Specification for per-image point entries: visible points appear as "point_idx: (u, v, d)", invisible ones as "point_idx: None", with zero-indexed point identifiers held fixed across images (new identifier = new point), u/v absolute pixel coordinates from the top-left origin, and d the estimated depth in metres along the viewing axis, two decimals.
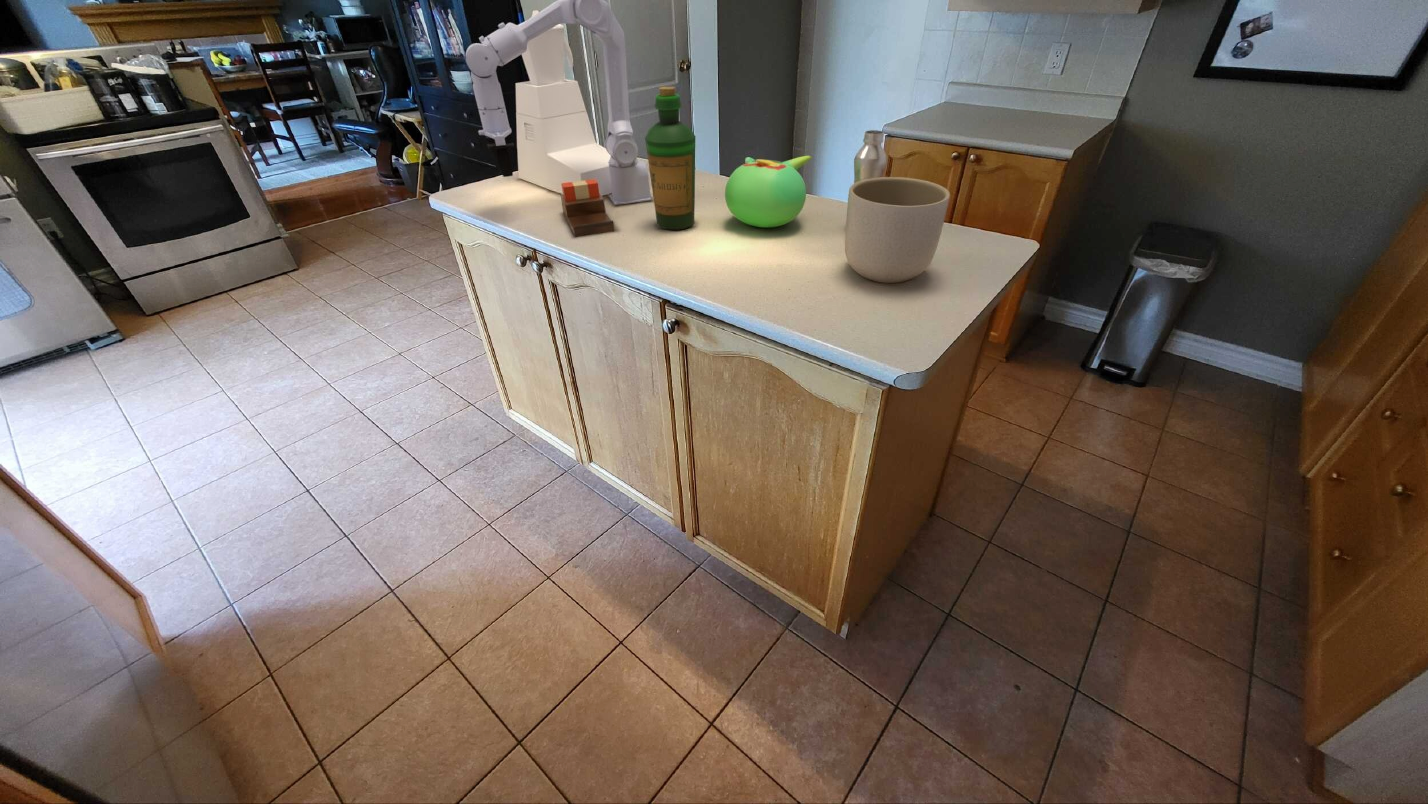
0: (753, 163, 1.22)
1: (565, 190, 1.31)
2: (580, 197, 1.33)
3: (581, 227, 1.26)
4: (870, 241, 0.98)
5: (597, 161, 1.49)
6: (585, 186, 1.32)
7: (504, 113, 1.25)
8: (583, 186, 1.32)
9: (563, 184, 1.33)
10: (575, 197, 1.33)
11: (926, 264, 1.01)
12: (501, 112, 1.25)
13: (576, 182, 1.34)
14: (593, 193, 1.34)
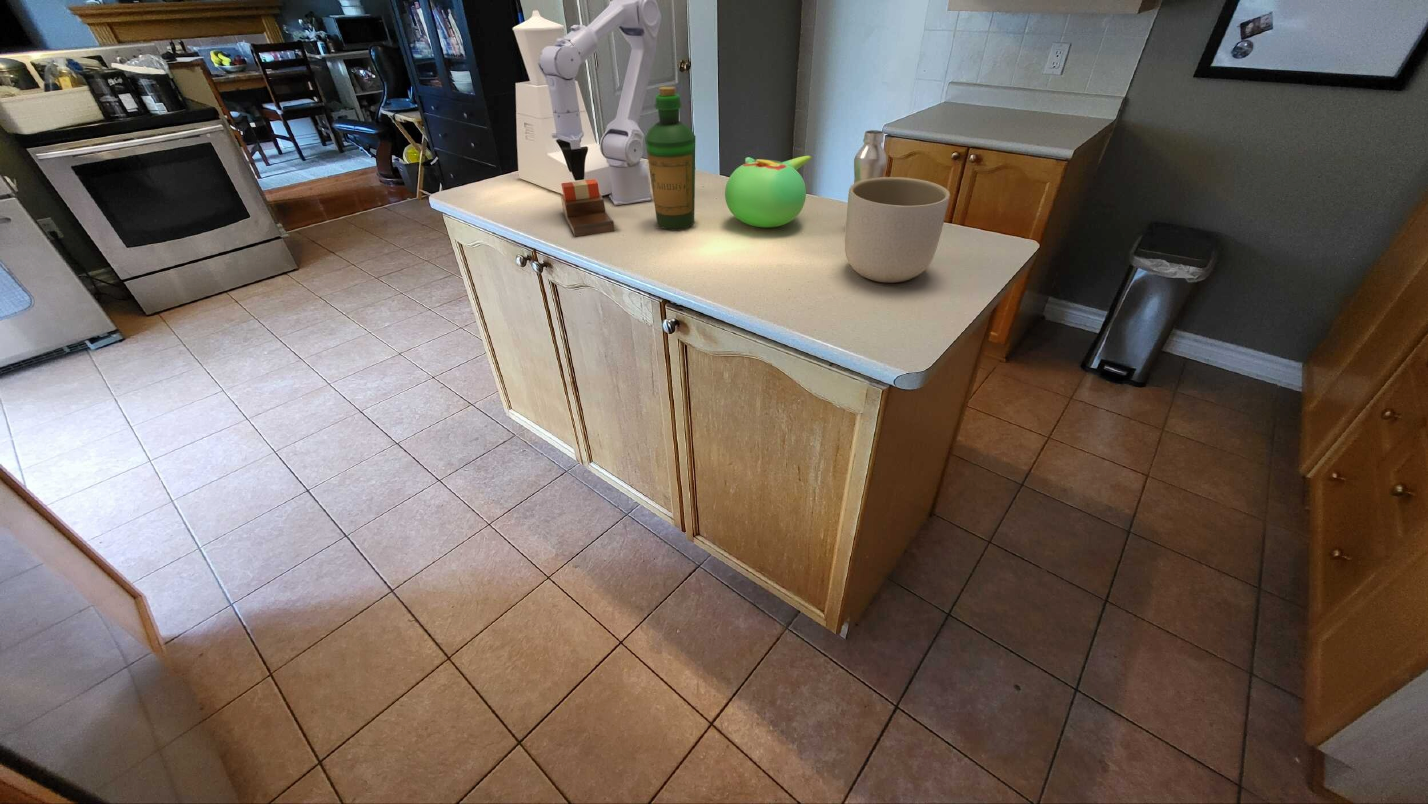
0: (753, 163, 1.22)
1: (565, 190, 1.31)
2: (580, 197, 1.33)
3: (581, 227, 1.26)
4: (870, 241, 0.98)
5: (597, 160, 1.49)
6: (585, 186, 1.32)
7: (578, 116, 1.24)
8: (583, 186, 1.32)
9: (563, 184, 1.33)
10: (575, 197, 1.33)
11: (926, 264, 1.01)
12: (576, 115, 1.23)
13: (576, 182, 1.34)
14: (593, 193, 1.34)
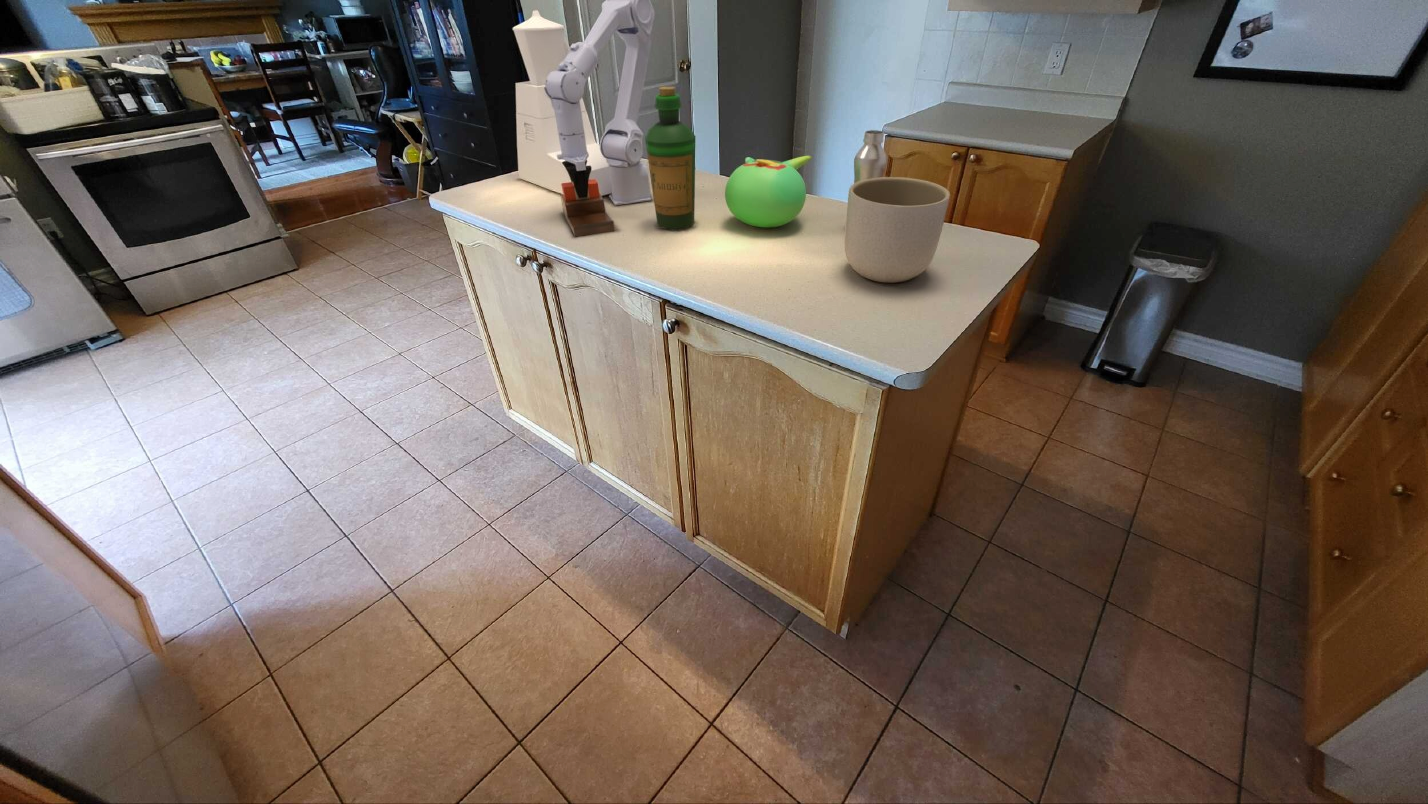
0: (753, 163, 1.22)
1: (565, 190, 1.31)
2: None
3: (581, 227, 1.26)
4: (870, 241, 0.98)
5: (597, 160, 1.49)
6: None
7: (583, 138, 1.27)
8: None
9: (563, 184, 1.33)
10: (575, 197, 1.33)
11: (926, 264, 1.01)
12: (581, 137, 1.26)
13: None
14: (593, 193, 1.34)
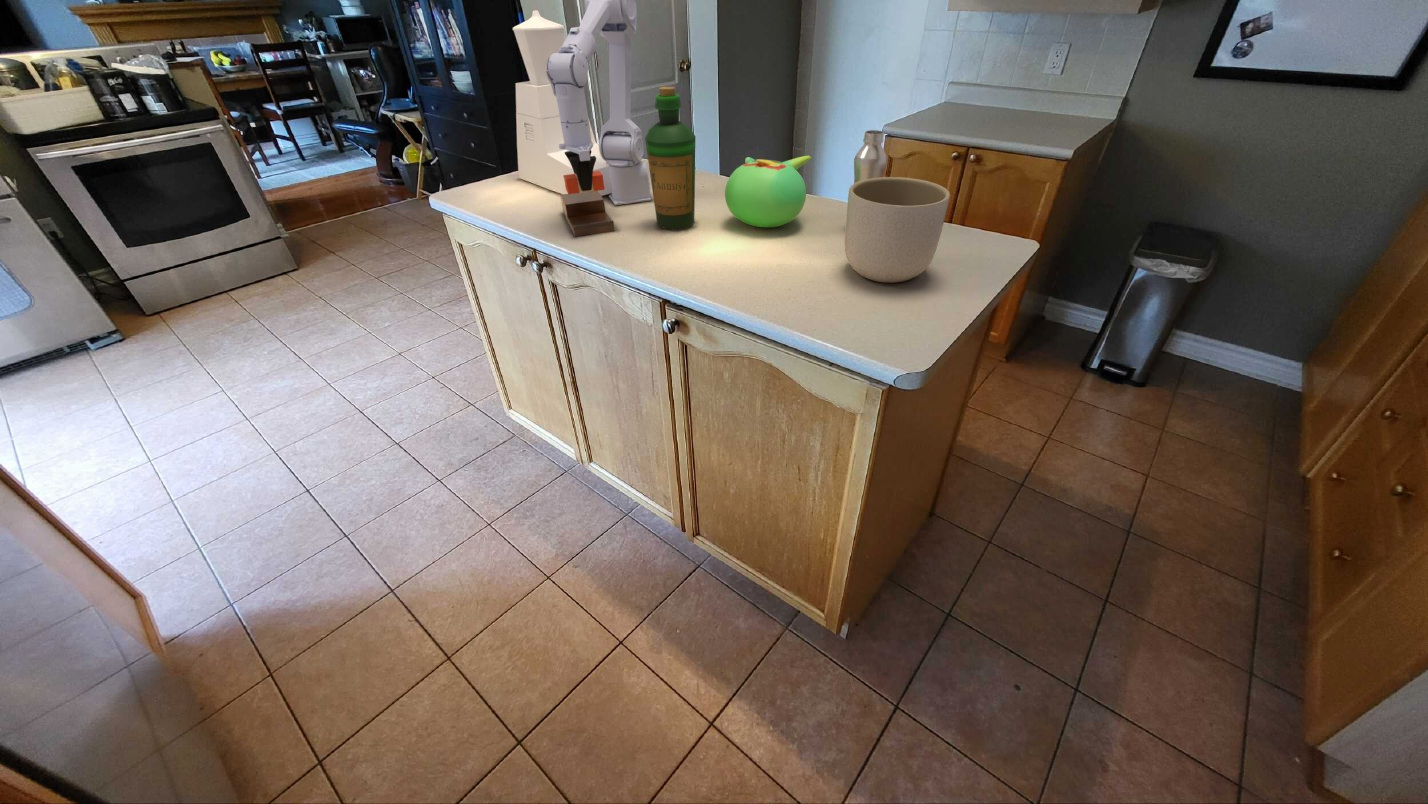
0: (753, 163, 1.22)
1: (568, 182, 1.22)
2: None
3: (581, 227, 1.26)
4: (870, 241, 0.98)
5: (597, 161, 1.49)
6: None
7: (588, 126, 1.18)
8: None
9: (565, 176, 1.24)
10: (578, 190, 1.24)
11: (926, 264, 1.01)
12: (585, 125, 1.17)
13: None
14: (598, 185, 1.25)
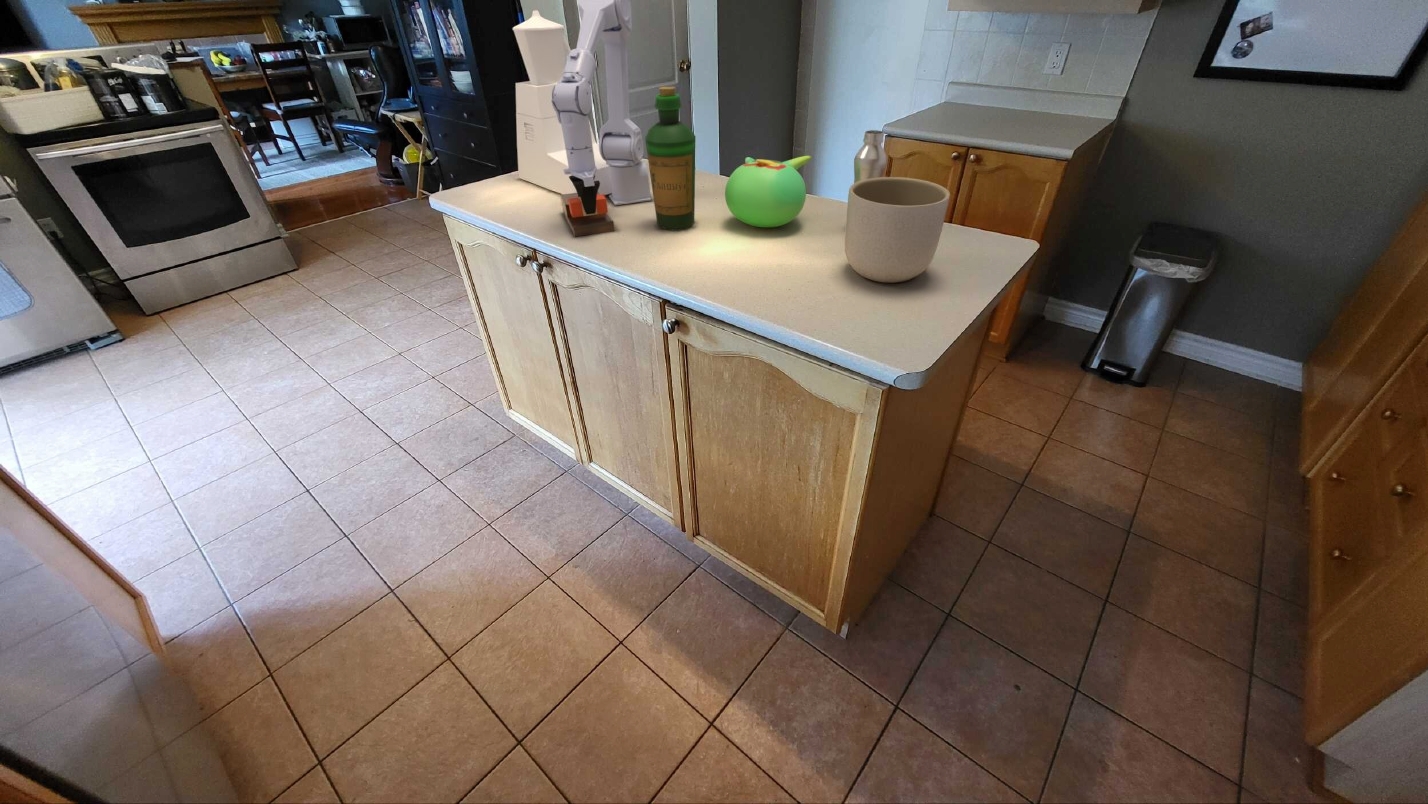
0: (753, 163, 1.22)
1: (572, 206, 1.25)
2: None
3: (581, 227, 1.26)
4: (870, 241, 0.98)
5: (597, 160, 1.49)
6: None
7: (592, 152, 1.20)
8: None
9: (570, 200, 1.26)
10: (582, 213, 1.27)
11: (926, 264, 1.01)
12: (589, 151, 1.20)
13: None
14: (601, 208, 1.28)
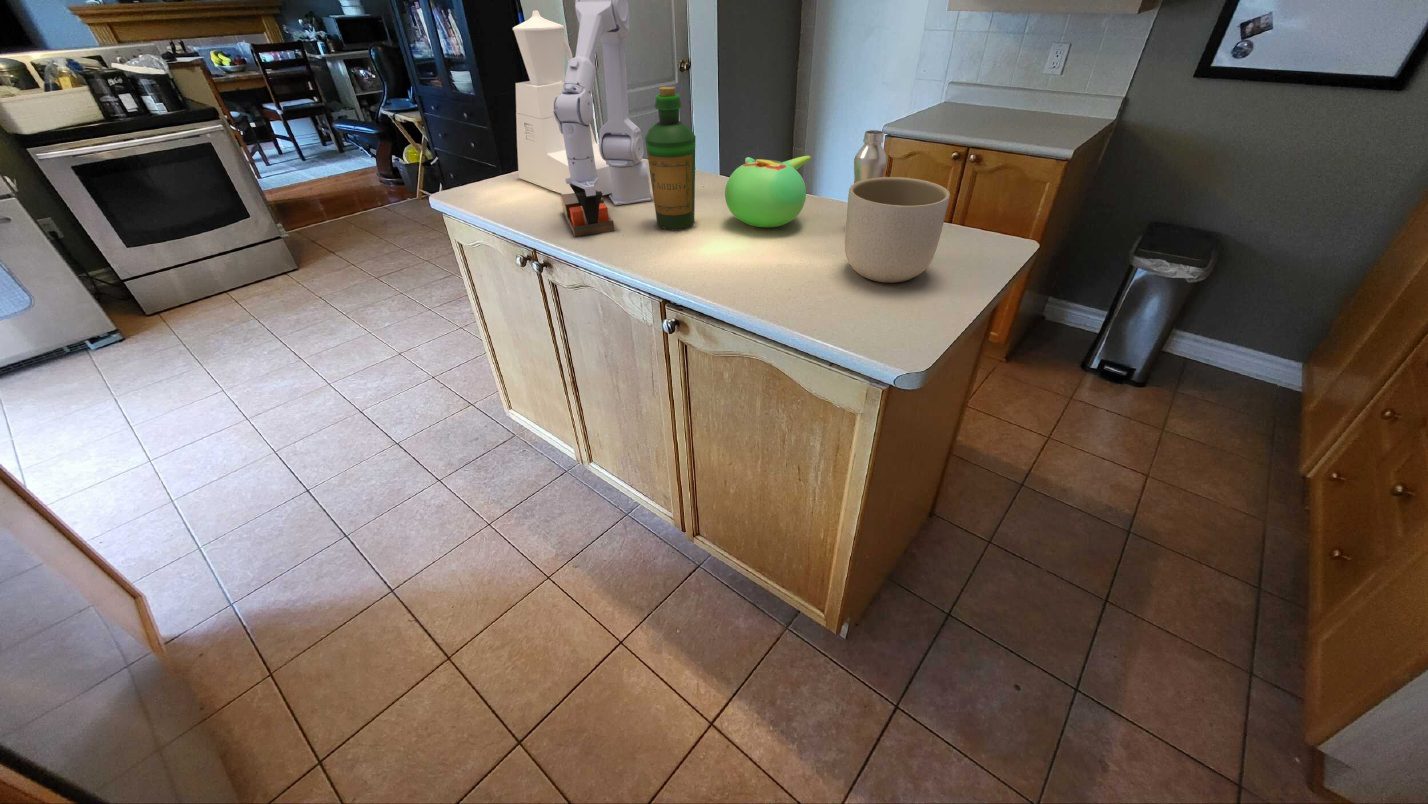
0: (753, 163, 1.22)
1: (573, 215, 1.26)
2: None
3: (581, 227, 1.26)
4: (870, 241, 0.98)
5: (597, 160, 1.49)
6: None
7: (593, 162, 1.22)
8: None
9: (571, 209, 1.28)
10: (584, 222, 1.28)
11: (926, 264, 1.01)
12: (591, 161, 1.21)
13: None
14: (602, 217, 1.29)
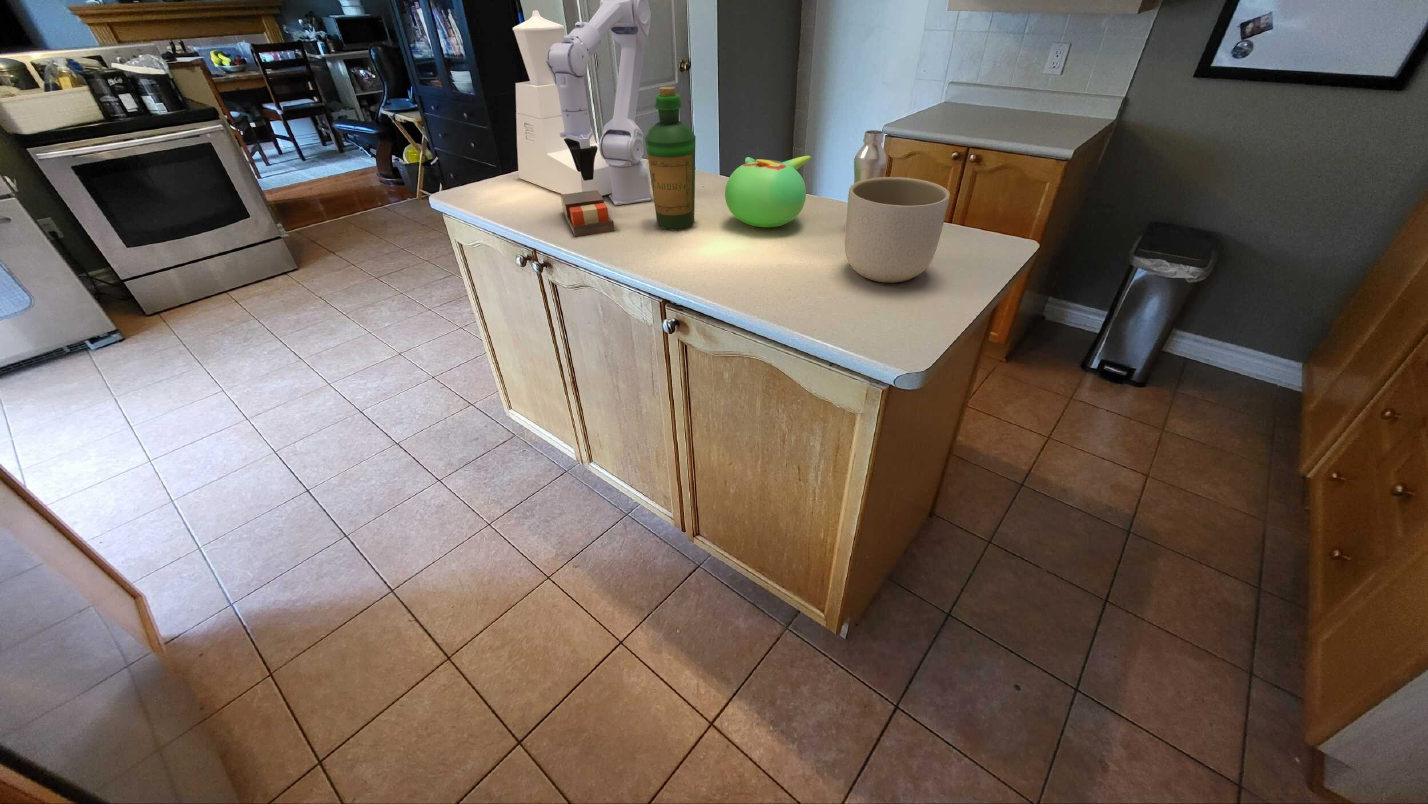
0: (753, 163, 1.22)
1: (573, 215, 1.26)
2: (589, 222, 1.28)
3: (581, 227, 1.26)
4: (870, 241, 0.98)
5: (597, 160, 1.49)
6: (595, 211, 1.27)
7: (587, 115, 1.21)
8: (593, 211, 1.27)
9: (571, 209, 1.28)
10: (584, 222, 1.28)
11: (926, 264, 1.01)
12: (585, 114, 1.20)
13: (584, 206, 1.29)
14: (602, 217, 1.29)
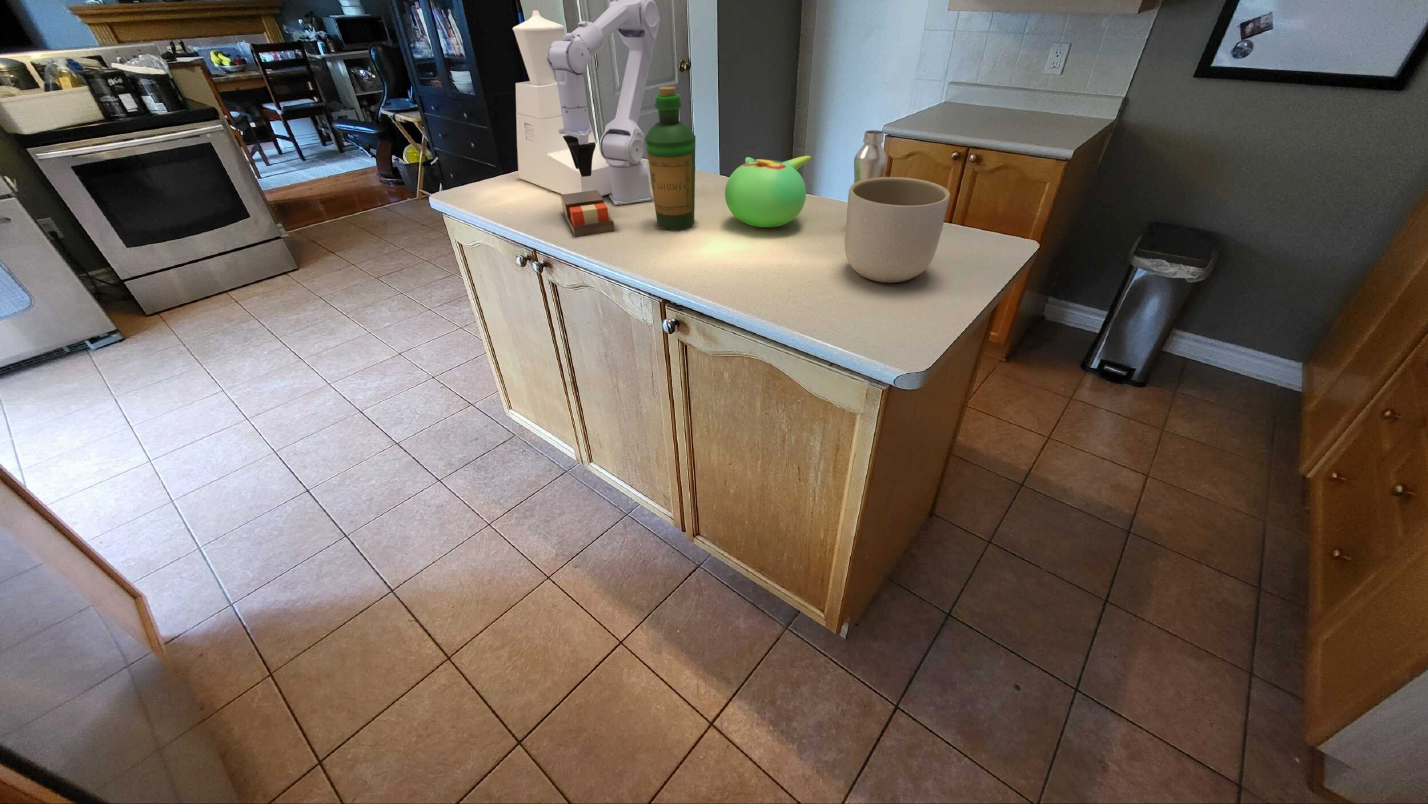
0: (753, 163, 1.22)
1: (573, 215, 1.26)
2: (589, 222, 1.28)
3: (581, 227, 1.26)
4: (870, 241, 0.98)
5: (597, 161, 1.49)
6: (595, 211, 1.27)
7: (586, 112, 1.23)
8: (593, 211, 1.27)
9: (571, 209, 1.28)
10: (584, 222, 1.28)
11: (926, 264, 1.01)
12: (584, 111, 1.22)
13: (584, 206, 1.29)
14: (602, 217, 1.29)
